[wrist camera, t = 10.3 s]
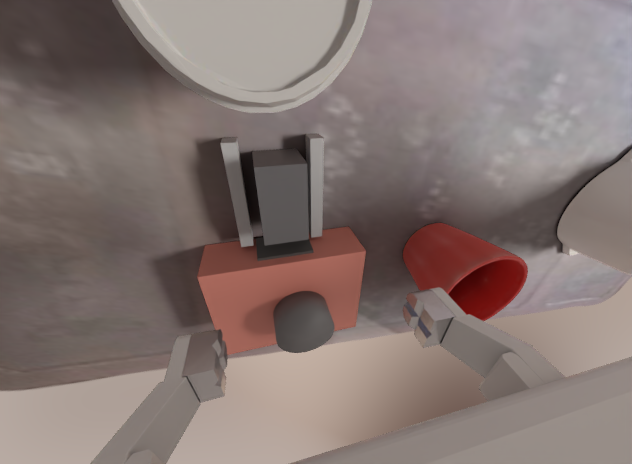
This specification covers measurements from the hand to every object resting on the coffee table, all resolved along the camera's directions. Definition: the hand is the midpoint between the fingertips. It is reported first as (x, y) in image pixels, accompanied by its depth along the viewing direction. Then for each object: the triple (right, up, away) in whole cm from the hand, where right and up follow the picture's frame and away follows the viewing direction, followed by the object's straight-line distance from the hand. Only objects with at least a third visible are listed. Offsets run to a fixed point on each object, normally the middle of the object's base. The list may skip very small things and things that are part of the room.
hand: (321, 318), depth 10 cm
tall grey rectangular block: (-4, +8, +14) cm, 17 cm away
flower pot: (+15, +2, +24) cm, 28 cm away
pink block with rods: (-4, +3, +17) cm, 18 cm away
